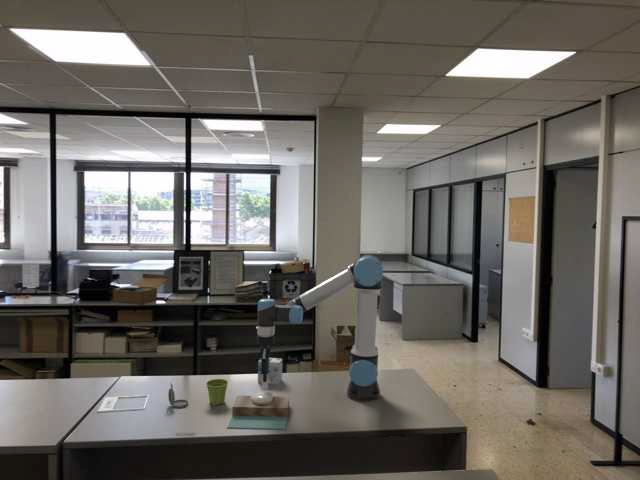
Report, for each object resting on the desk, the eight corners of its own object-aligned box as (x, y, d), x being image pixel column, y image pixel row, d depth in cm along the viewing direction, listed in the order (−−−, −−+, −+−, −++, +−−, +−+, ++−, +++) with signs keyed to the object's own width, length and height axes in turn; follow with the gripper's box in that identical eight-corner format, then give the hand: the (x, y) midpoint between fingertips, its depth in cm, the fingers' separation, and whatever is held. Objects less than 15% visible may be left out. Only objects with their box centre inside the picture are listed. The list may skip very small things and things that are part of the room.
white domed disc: (273, 396, 205) (273, 392, 205) (271, 404, 196) (271, 400, 196) (252, 395, 205) (252, 391, 205) (249, 404, 196) (249, 400, 196)
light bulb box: (257, 383, 232) (257, 360, 231) (261, 378, 239) (261, 356, 238) (278, 384, 230) (279, 362, 230) (282, 380, 237) (282, 358, 236)
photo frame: (105, 396, 209) (149, 394, 213) (105, 399, 209) (149, 396, 213) (97, 410, 194) (144, 407, 198) (97, 413, 194) (144, 410, 198)
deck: (289, 405, 206) (289, 396, 205) (287, 417, 194) (287, 408, 193) (237, 404, 205) (237, 395, 205) (232, 416, 194) (232, 406, 193)
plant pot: (223, 407, 202) (223, 387, 201) (202, 405, 204) (202, 385, 203) (231, 399, 211) (231, 379, 211) (211, 397, 213) (211, 378, 212)
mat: (287, 417, 194) (287, 416, 194) (285, 429, 183) (285, 428, 183) (232, 416, 194) (232, 415, 193) (227, 428, 183) (227, 427, 183)
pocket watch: (191, 403, 205) (191, 380, 205) (177, 410, 198) (177, 386, 197) (176, 400, 209) (176, 377, 208) (162, 407, 201) (162, 383, 201)
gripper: (259, 330, 216) (258, 382, 218) (255, 338, 203) (254, 393, 205) (275, 331, 216) (274, 383, 218) (273, 339, 203) (271, 393, 205)
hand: (264, 388), depth 211 cm, fingers closed
